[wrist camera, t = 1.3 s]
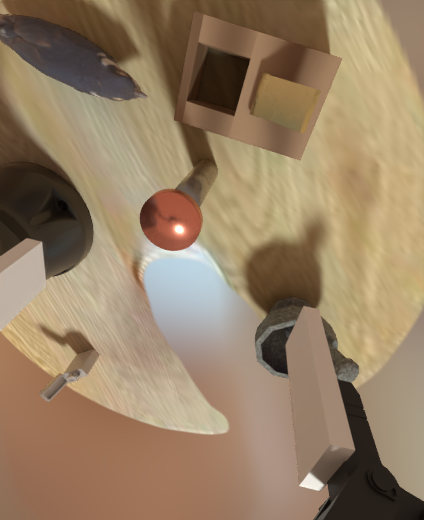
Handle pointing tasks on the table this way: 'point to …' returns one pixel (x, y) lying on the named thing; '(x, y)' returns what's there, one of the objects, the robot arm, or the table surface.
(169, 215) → the red-capped peg
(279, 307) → the mortar and pestle
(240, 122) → the block
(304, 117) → the golden rectangular bar
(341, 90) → the table surface
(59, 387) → the lighter
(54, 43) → the bird model
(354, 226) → the table surface
